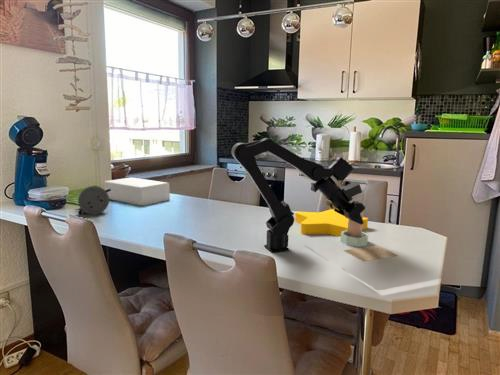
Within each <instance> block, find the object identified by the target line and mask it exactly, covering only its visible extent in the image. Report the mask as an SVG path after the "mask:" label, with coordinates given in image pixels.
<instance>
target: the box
mask: <svg viewBox="0 0 500 375" xmlns="http://www.w3.org/2000/svg"><path fill="white" fill-rule="evenodd" d="M108 189H111V191H109V192H107V194H108V196H109V200H113V201H117V202H122V203H127V204H133V205H136V204H137V206H141V205H142V206H141V207H143V205H144V206H149V205H153V204H156V203H160V202H161V201H162V202H165V201H169V200H171V192H170V189H171V188H170V182H165V181H158V180H151V179H145V178H138V177H127V178H126V177H125V178H117V179H110V180H104V190H108ZM162 202H161V203H162ZM152 203H153V204H152ZM148 204H149V205H148Z"/></svg>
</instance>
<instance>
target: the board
mask: <svg viewBox="0 0 500 375" xmlns="http://www.w3.org/2000/svg"><path fill="white" fill-rule="evenodd" d="M343 252H345V253H347V254H349V255H351V256H352V257H354V258H356V259H358V260H360V261H361V262H367V261H375V260H381V259H385V258H386V259H387V258H393V257H398V256H399V255H398V254H396V253H394V252H392V251H390V250H387V249H385V248H383V247H381V246H378V245H372V246H371V245H370V246H363V247H357V248H351V249H344V250H343Z"/></svg>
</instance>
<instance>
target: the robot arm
mask: <svg viewBox="0 0 500 375" xmlns="http://www.w3.org/2000/svg"><path fill="white" fill-rule="evenodd" d="M230 152H231V155H232V157H233V158H234V160H235V161H236V162H238V164H239V165H240V167H242V168H243V169H244V170H245V171H246V173H247V174H248V176H249V177H250V180H251V181H252V182H253V183H254V185H255V186H256V189H257V190H258V191H259V193H260V195H261V196H262V198H263V199H264V200H265V202H266V204H267V206H268V208H269V213H270V215H271V216H270V217H269V218H268V220H266V222H265V224H266V228H267V230H266V244H263V245H264V246H263V247H265V249H267V250H268V251H270V252H271V253H279V252H286V251H287V252H288V251H290V249H289V235H288V234H289V231H290V228H291V227H292V226H293V225H294V223H295V216H294V215H295V212H293V211H292V209H291V207H290V205H289V204H288V203H287V202H286V201H284V200H281V201H280V199H279V198H278V196H277V195H276V193H275V191H274V190H273V188H272V187H271V185H270V184H269V182H268V180H267V179H266V177H265V176H264V173H262V171H261V169H260V167H259V166H258V163H257V160H256V156H259V155H261V154H264V153H267V152H268V154H271V155H273V156H275V157H276V158H278V159H279V160H282V161H283V162H285V163H287V164H288V165H291V166H292V167H293V168H295V169H296V170H297V171H298V172H299V173H300V174H301V175H302V176H303V177H305V178H307V179H309V180H311V181H314V182H310V185H311V187H310V191H312V192H314V193H316V192H317V191H319V192H320V193H321V194H322V195H323V196H324V199H325V200H326V204H325V205H326V206H327V207H328V208H329V210H330V209H332V210H333V209H334V211H335V212H337V213H339V214H341V215H343V216H345V217H346V218H348V219H350V220H352V221H354V222H357V223H359V224H361V225H362V224H363V223H364V222H363V220H362V217H361V215H360V213H361V212H362V211H363V212H364V211H365V209H366V206H365V205H364V204H363V202H361V201H359V200H354V201H353V199H354V198H353V197H355V196H356V195H357V196H358V194H359V195H360V194H361V193H363V189H362V187H361V184H360V183H359V182H356V181H351V182H350V181H349V180H345V179H347V177H348V176H350V175H351V173H353V171H354V170H355V168H354V166H353V165H352V164H351V163H349V162H348V160H345V159H344V158H343V157H342V156H338V157H336V159H335V160H334V161H333V162H332V163H331V164H330V165H329V166H325V165H322V164H320V163H317V162H314V161H311V160H309V159H305V158H303V157H301V156H299V155H298V154H295V153H294V152H292V150H289V149H287V148H285V147H284V146H282V145H281V144H278V143H277V142H275V141H274V140H273V139H271V138H268V137H265V138H262V139H259V140H255V141H254V140H253V141H250V142H247V143H244V142H237V143H235V144H234V145H233V146H232V148H231V151H230ZM338 182H342V186H341V187H340V186H339V185H338V184H337V183H338ZM358 201H359V202H358Z"/></svg>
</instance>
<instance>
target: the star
mask: <svg viewBox="0 0 500 375" xmlns="http://www.w3.org/2000/svg"><path fill="white" fill-rule="evenodd" d="M334 209H335V208H334ZM334 209H333V210H332V209H330V208H329V209H328V210H324V211H320V212H315V211H314V212H312V211H311V212H310V211H295V212H294V215H295V216H294V223H297V224H299V225H300V234H301V235H319V234H321V235H322V234H326V235H327V234H328V235H332V236H335V237H341V233H342V231H348V218H346V217H345V216H343V215H341V214H339V213H337V212H335V211H334ZM363 222H364V223H363V224H362V230H366V229H367V230H368V222H369V218H368V217H365V216H363Z"/></svg>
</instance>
